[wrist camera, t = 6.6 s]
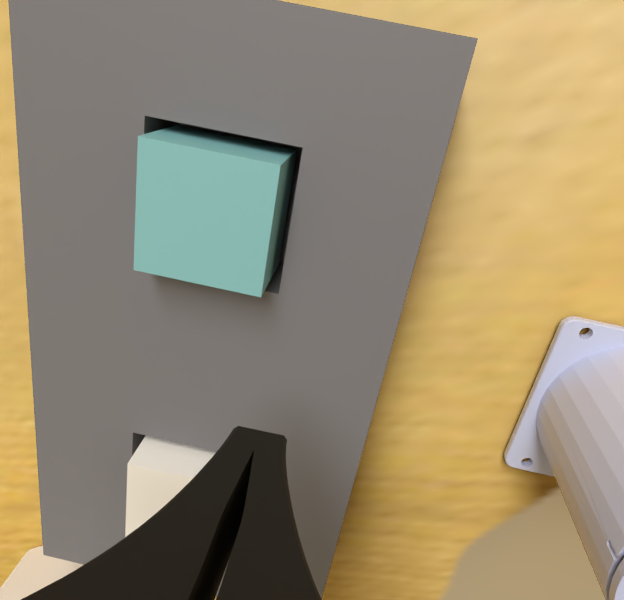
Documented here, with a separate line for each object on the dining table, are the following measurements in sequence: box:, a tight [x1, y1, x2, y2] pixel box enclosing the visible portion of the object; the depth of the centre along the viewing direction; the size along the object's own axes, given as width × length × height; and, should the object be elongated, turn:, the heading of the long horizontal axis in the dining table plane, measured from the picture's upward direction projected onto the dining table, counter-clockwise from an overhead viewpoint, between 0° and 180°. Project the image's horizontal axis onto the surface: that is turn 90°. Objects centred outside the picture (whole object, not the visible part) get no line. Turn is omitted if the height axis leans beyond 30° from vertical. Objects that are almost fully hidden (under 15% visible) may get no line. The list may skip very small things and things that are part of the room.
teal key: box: [134, 125, 297, 297], centre depth 18 cm, size 4×4×3 cm
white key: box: [125, 436, 216, 537], centre depth 24 cm, size 4×4×3 cm
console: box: [9, 0, 477, 599], centre depth 22 cm, size 14×26×4 cm, turn 170°
